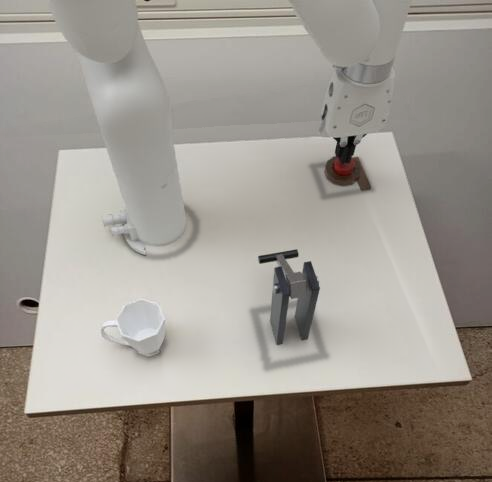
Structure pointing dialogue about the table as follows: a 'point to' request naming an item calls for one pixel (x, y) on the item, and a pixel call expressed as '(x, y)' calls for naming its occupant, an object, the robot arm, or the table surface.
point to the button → (343, 168)
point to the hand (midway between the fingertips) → (342, 158)
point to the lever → (288, 272)
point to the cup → (139, 326)
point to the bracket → (304, 304)
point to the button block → (357, 176)
